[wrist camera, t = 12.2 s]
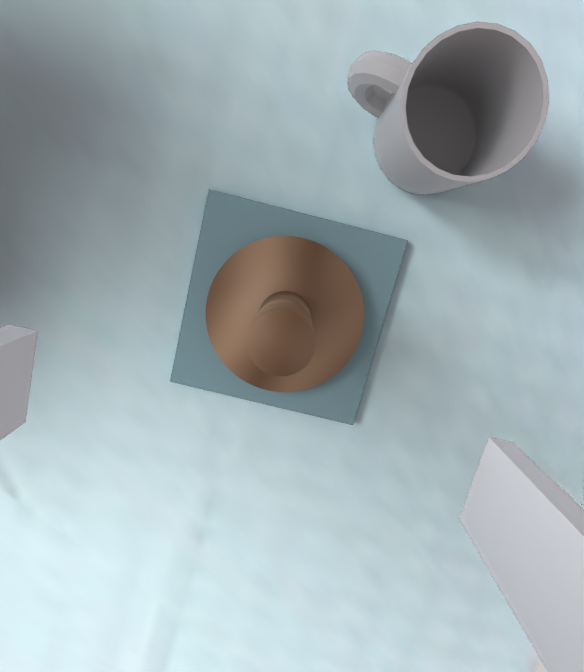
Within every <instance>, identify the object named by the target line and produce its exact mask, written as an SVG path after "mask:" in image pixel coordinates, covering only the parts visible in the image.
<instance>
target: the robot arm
mask: <svg viewBox="0 0 584 672" xmlns="http://www.w3.org/2000/svg"><path fill="white" fill-rule="evenodd" d="M37 332H38V331H35V330H31V329H27V328H23V327H18V326H14V325H10V324H9V325H6V326H4V327H1V328H0V440H1V439H3V438H4V437H5V436H7V435H8V434H10V433H11V432H12V431H14V430H15V429H16V428H18V427H19V426H21V425H22V424H23V423H25V422H26V414H27V407H28V399H29V392H30V384H31V377H32V369H33V362H34V354H35V347H36V339H37ZM459 520H460V522H461V523H462V525H463V527H464V529H465V530H466V532H467V534H468V535H469V537H470V539H471V541H472V542H473V544H474V546H475V547H476V549H477V551H478V553H479V554H480V556H481V558H482V560H483V561H484V563H485V565H486V566H487V568H488V570H489V572H490V573H491V575H492V577H493V578H494V580H495V582H496V584H497V585H498V587H499V589H500V591H501V592H502V594H503V596H504V597H505V599H506V601H507V603H508V604H509V606H510V608H511V609H512V611H513V613H514V615H515V616H516V618H517V620H518V621H519V623H520V625H521V627H522V628H523V630H524V632H525V634H526V635H527V637H528V639H529V640H530V642H531V644H532V646H533V647H534V649H535V651H536V652H537V654H538V656H539V658H540V659H541V661H542V663H543V664H544V666H545V668H546V669H547V671H548V672H584V510H583V509H582V508H581V507H580V506H579V505H578V504H577V503H576V502H575V501H574V500H573V499H572V498H571V497H570V496H569V495H568V494H566V493H565V492H564V491H563V490H562V489H561V488H560V487H559V486H558V485H557V484H556V483H555V482H554V481H553V480H552V479H551V478H550V477H549V476H548V475H547V474H546V473H545V472H544V471H542V470H541V469H540V468H539V467H538V466H537V465H536V464H535V463H534V462H533V461H532V460H531V459H530V458H529V457H528V456H527V455H526V454H525V453H524V452H523V451H522V450H521V449H520V448H518V447H517V446H516V445H515V444H514V443H512V442H508V441H504V440H499V439H495V438H491V437H489V438H488V441H487V443H486V446H485V449H484V452H483V454H482V457H481V460H480V462H479V465H478V468H477V471H476V473H475V476H474V479H473V481H472V484H471V487H470V490H469V492H468V495H467V498H466V501H465V503H464V506H463V509H462V511H461V514H460V517H459Z"/></svg>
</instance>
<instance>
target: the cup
mask: <svg viewBox="0 0 584 672" xmlns="http://www.w3.org/2000/svg"><path fill="white" fill-rule="evenodd" d="M348 89H349V91H350V93H351V95H352V96H353V98H354V99H355V100H356V101H357V102H358V103H359V104H360V105H361V106H362V108H363V109H365V110H366V111H368V112H369V113H370V114H372V115H374V116H375V117H377V118H378V119H377V122H376V125H375V130H374V138H373V144H374V152H375V157H376V159H377V162H378V164H379V167H380V169H381V170H382V172H383V173H384V174H385V176H386V177H387V178H388V180H389V181H391V182H392V183H393V184H395V185H396V186H397V187H399V188H400V189H403V190H405V191H408V192H411V193H416V194H434V193H439V192H444V191H448V190H451V189H455V188H458V187H462V186H466V185H469V184H473V183H477V182H480V181H484V180H487V179H491V178H493V177H495V176H497V175H499V174H501V173H504V172H506V171H508V170H509V169H510V168H512V167H513V166H514V165H515V164H517V163H518V162H519V161H520V160H521V159H523V158H524V157H525V155H526V154H527V153H528V152H529V150H530V149H531V148H532V146H533V145H534V144H535V142H536V141H537V139H538V137H539V134H540V132H541V130H542V128H543V125H544V123H545V120H546V115H547V110H548V104H549V90H548V79H547V76H546V72H545V69H544V66H543V63H542V60H541V59H540V57H539V56H538V54H537V53H536V51H535V50H534V48H533V47H532V45H531V44H530V43H529V42H528V41H527V40H525V39H524V38H523V37H522V36H521V35H519V34H518V33H517V32H516V31H514V30H511V29H509V28H507V27H504V26H502V25H499V24H496V23H486V22H473V23H468V24H463V25H458V26H456V27H454V28H452V29H450V30H448V31H446V32H444V33H442V34H440V35H438V36H437V37H436V38H435V39H434V40H433V41H431V42H430V43H429V44H428V45H427V46H426V47H425V48H424V49H423V50H422V51H421V52H420V54H419V55H418V57H417V58H416V60H415V61H414V62H413V63H410V62H408V61H407V60H405V59H403V58H401V57H398V56H396V55H393V54H390V53H387V52H380V51H370V52H365V53H364V54H363V55H362V56H360V57H359V58H358V59H357V60H356V61H355V62H354V63H353V64H351V66H350V69H349V74H348ZM391 92H392V93H391Z"/></svg>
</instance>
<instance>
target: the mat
mask: <svg viewBox="0 0 584 672" xmlns="http://www.w3.org/2000/svg"><path fill="white" fill-rule="evenodd" d="M273 236H296V237H301V238H306V239H309V240H312V241H314V242H317V243H319V244H321V245H323V246H325V247H326V248H328V249H329V250H331V251H332V252H334V253H335V254H336V255H337V256H338V257H339V258H341V259H342V261H343V262H344V263H345V264H346V265H347V266H348V268H349V269H350V271H351V272H352V274H353V275H354V277H355V279H356V281H357V283H358V285H359V288H360V291H361V294H362V299H363V304H364V325H363V330H362V335H361V338H360V341H359V344H358V346H357V348H356V350H355V352H354V354H353V355H352V357H351V358H350V360H349V361H348V362H347V364H346V365H345V366H344V367H343V368H342V369H341V370H340V371H339V372H338V373H337V374H335V375H334V376H333V377H331V378H330V379H328V380H327V381H325V382H324V383H322V384H319V385H317V386H315V387H312V388H309V389H306V390H302V391H297V392H275V391H269V390H265V389H261V388H258V387H255V386H253V385H251V384H249V383H247V382H245V381H244V380H242V379H240V378H239V377H237V376H236V375H235V374H234V373H232V372H231V371H230V370H229V369H228V368H227V367H226V366H225V365H224V363H223V362H222V361H221V359H220V358H219V357H218V355H217V353H216V352H215V350H214V348H213V346H212V343H211V341H210V338H209V335H208V331H207V326H206V302H207V296H208V293H209V289H210V286H211V284H212V282H213V279H214V278H215V276H216V274H217V272H218V271H219V269H220V268H221V267H222V266H223V264H224V263H225V262H226V261H227V260H228V259H229V258H230V257H231V256H232V255H233V254H234V253H236V252H237V251H238V250H240V249H241V248H243V247H245V246H246V245H248V244H250V243H252V242H255V241H258V240H260V239H264V238H268V237H273ZM407 241H408V240H404V239H400V238H396V237H392V236H388V235H385V234H381V233H377V232H373V231H369V230H365V229H361V228H357V227H353V226H350V225H346V224H342V223H338V222H334V221H330V220H326V219H322V218H318V217H315V216H311V215H307V214H303V213H299V212H295V211H291V210H287V209H283V208H280V207H276V206H272V205H268V204H264V203H260V202H256V201H252V200H248V199H245V198H241V197H237V196H233V195H229V194H225V193H221V192H217V191H213V190H210V189H209V191H208V196H207V201H206V206H205V211H204V216H203V221H202V226H201V231H200V236H199V241H198V246H197V251H196V256H195V261H194V265H193V270H192V275H191V280H190V285H189V290H188V295H187V300H186V305H185V310H184V315H183V320H182V325H181V330H180V335H179V340H178V345H177V350H176V355H175V359H174V364H173V369H172V374H171V379H170V382H174V383H179V384H183V385H187V386H191V387H195V388H200V389H204V390H208V391H212V392H216V393H221V394H225V395H229V396H233V397H237V398H242V399H246V400H250V401H254V402H258V403H263V404H267V405H271V406H275V407H279V408H284V409H288V410H292V411H296V412H300V413H305V414H309V415H313V416H317V417H321V418H326V419H330V420H334V421H338V422H342V423H347V424H351V425H353V424H354V420H355V417H356V414H357V410H358V407H359V403H360V400H361V397H362V393H363V390H364V387H365V383H366V380H367V376H368V373H369V370H370V366H371V363H372V359H373V356H374V353H375V349H376V346H377V343H378V339H379V336H380V332H381V329H382V326H383V322H384V319H385V316H386V312H387V309H388V305H389V302H390V299H391V295H392V292H393V289H394V285H395V282H396V278H397V275H398V272H399V268H400V265H401V262H402V258H403V255H404V251H405V248H406V245H407Z"/></svg>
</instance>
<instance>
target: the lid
mask: <svg viewBox="0 0 584 672" xmlns="http://www.w3.org/2000/svg"><path fill="white" fill-rule="evenodd" d="M363 325H364V304H363V299H362V294H361V291H360V288H359V285H358V283H357V281H356V279H355V277H354V275H353V274H352V272H351V271H350V269H349V268H348V266H347V265H346V264H345V263H344V262H343V261H342V259H341V258H339V257H338V256H337V255H336V254H335V253H334V252H332V251H331V250H329V249H328V248H326V247H325V246H323V245H321V244H319V243H317V242H314V241H312V240H309V239H306V238H301V237H296V236H273V237H268V238H264V239H260V240H258V241H255V242H252V243H250V244H248V245H246V246H245V247H243V248H241V249H240V250H238V251H237V252H236V253H234V254H233V255H232V256H231V257H230V258H229V259H228V260H227V261H226V262H225V263H224V264H223V266H222V267H221V268H220V269H219V271H218V272H217V274H216V276H215V278H214V279H213V282H212V284H211V286H210V289H209V293H208V296H207V302H206V326H207V331H208V335H209V338H210V341H211V343H212V346H213V348H214V350H215V352H216V353H217V355H218V357H219V358H220V359H221V361H222V362H223V363H224V365H225V366H226V367H227V368H228V369H229V370H230V371H231V372H232V373H234V374H235V375H236V376H237V377H239V378H240V379H242V380H244V381H245V382H247V383H249V384H251V385H253V386H255V387H258V388H261V389H265V390H269V391H275V392H297V391H302V390H306V389H309V388H312V387H315V386H317V385H319V384H322V383H324V382H325V381H327V380H328V379H330V378H331V377H333V376H334V375H335V374H337V373H338V372H339V371H340V370H341V369H342V368H343V367H344V366H345V365H346V364H347V362H348V361H349V360H350V358H351V357H352V355H353V354H354V352H355V350H356V348H357V346H358V344H359V341H360V338H361V335H362V330H363Z"/></svg>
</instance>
